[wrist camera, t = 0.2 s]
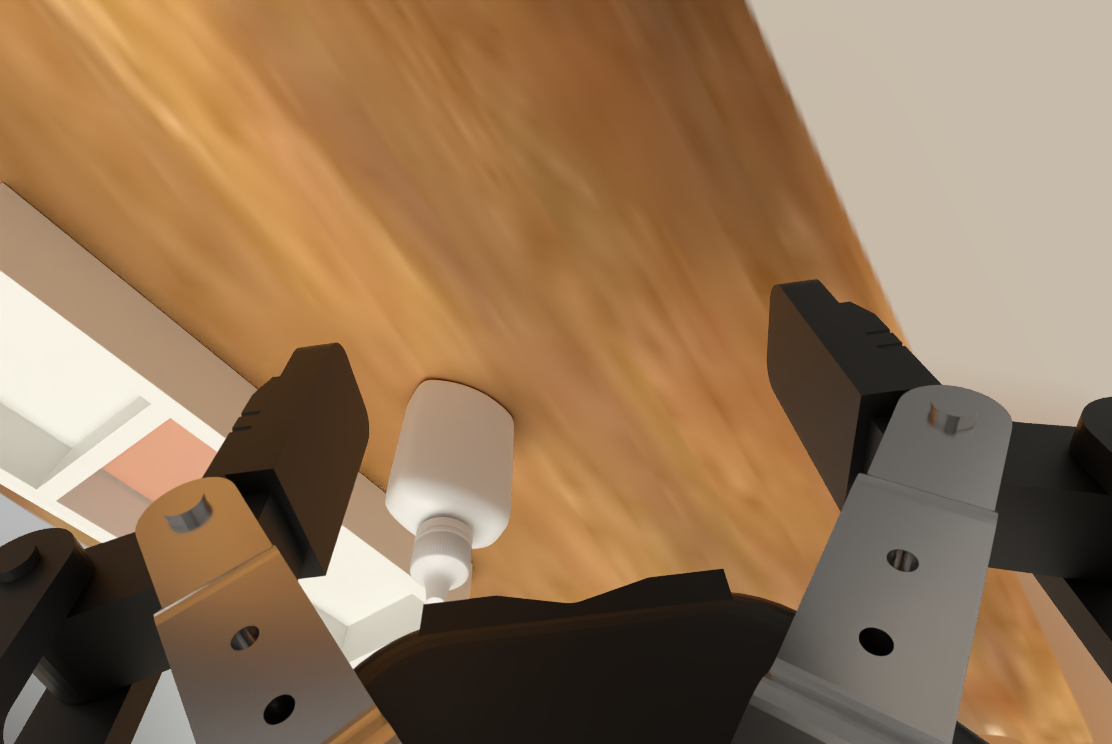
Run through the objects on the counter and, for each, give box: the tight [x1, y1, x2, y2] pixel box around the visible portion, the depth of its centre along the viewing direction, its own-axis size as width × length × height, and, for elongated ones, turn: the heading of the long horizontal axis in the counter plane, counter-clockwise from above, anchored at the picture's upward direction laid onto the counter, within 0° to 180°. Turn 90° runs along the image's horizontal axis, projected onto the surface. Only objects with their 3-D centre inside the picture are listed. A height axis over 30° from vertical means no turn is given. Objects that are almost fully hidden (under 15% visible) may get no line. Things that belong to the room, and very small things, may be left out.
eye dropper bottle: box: [385, 380, 514, 604], centre depth 30 cm, size 4×6×12 cm
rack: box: [0, 183, 473, 669], centre depth 35 cm, size 31×11×4 cm, turn 35°
